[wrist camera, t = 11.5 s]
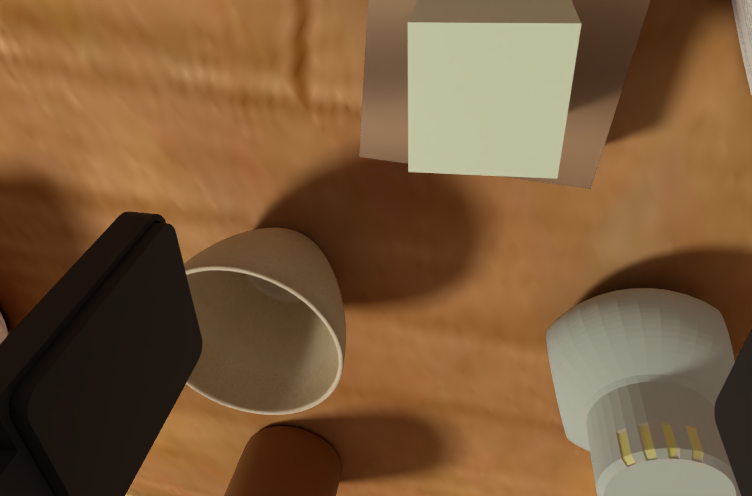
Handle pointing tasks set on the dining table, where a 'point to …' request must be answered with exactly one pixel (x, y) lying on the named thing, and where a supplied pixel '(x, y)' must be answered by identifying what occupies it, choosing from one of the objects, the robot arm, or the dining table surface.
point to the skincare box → (744, 33)
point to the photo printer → (2, 329)
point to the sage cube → (490, 85)
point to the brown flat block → (587, 100)
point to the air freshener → (645, 391)
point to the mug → (286, 465)
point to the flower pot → (267, 322)
